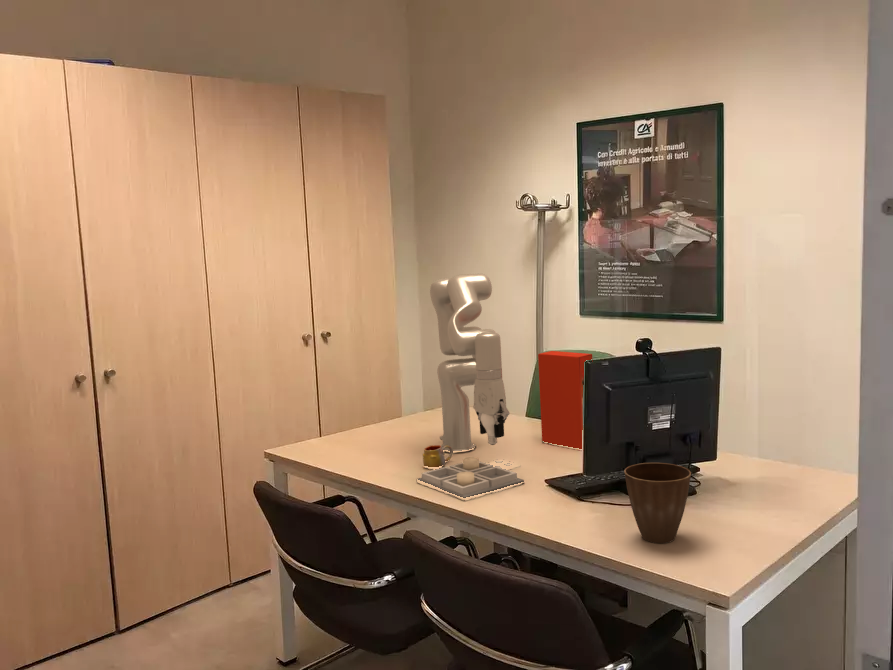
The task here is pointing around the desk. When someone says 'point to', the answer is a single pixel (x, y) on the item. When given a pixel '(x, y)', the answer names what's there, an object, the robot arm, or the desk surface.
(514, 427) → the desk surface
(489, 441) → the lightbulb
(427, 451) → the mug
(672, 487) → the plant pot
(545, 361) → the file binder
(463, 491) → the compartment tray
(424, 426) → the desk surface
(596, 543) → the desk surface
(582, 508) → the desk surface
